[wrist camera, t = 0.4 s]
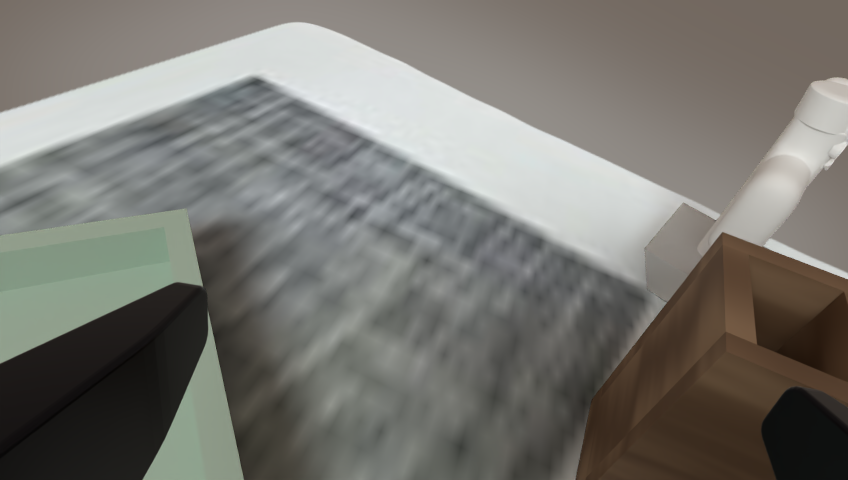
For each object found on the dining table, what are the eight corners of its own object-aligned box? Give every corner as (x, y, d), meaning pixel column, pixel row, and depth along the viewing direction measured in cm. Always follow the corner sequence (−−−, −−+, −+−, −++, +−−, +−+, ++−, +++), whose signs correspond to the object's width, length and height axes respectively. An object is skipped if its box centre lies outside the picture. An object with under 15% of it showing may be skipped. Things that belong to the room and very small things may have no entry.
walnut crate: (680, 563, 22) (917, 432, 14) (570, 507, 23) (726, 351, 14) (685, 443, 26) (866, 286, 18) (591, 399, 27) (722, 231, 19)
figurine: (612, 295, 33) (751, 82, 23) (663, 233, 39) (792, 41, 29) (720, 367, 30) (933, 159, 20) (757, 288, 36) (938, 96, 26)
